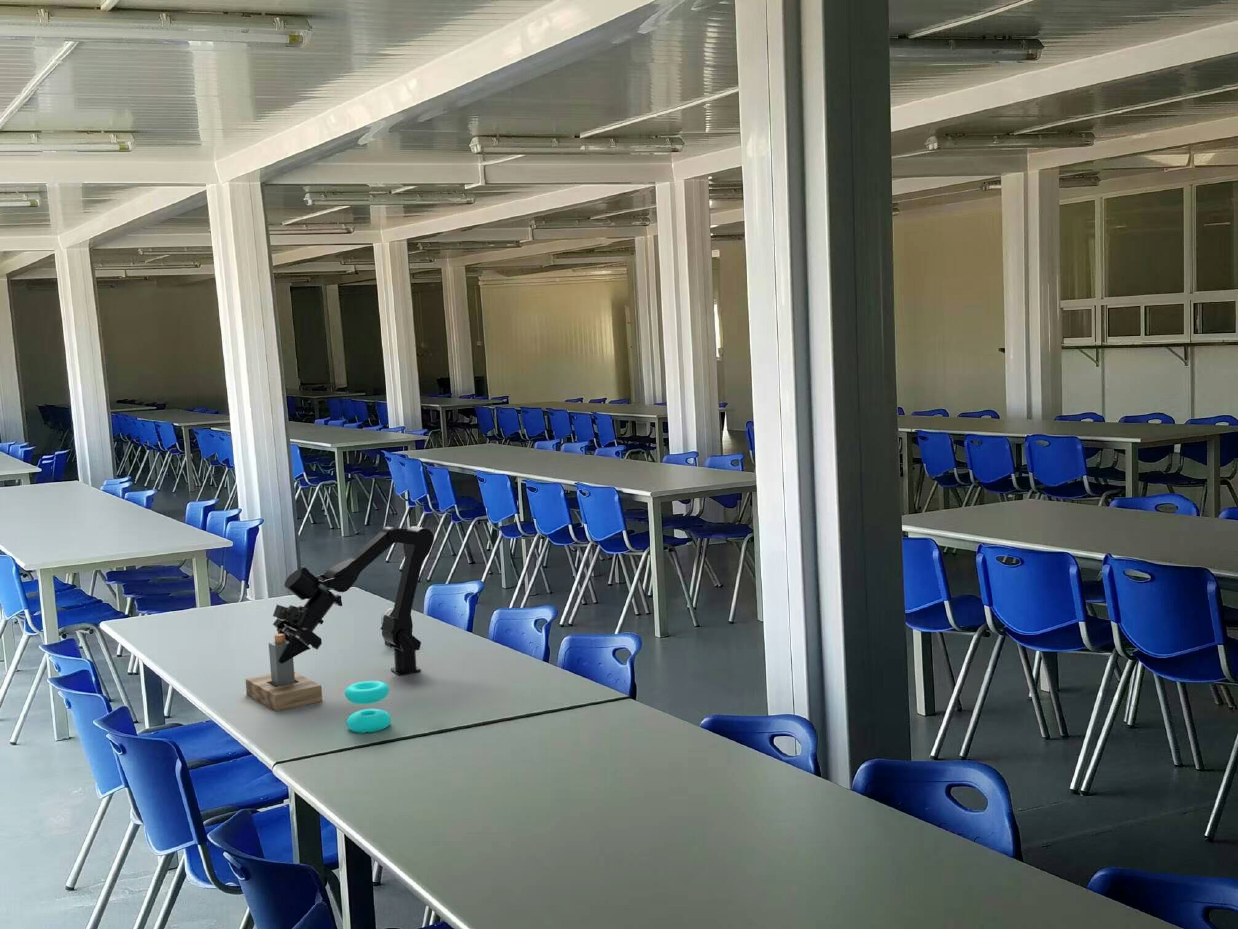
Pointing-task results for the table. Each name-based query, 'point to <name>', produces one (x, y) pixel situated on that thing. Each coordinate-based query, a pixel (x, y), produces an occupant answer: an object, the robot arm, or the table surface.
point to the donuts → (369, 717)
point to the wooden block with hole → (284, 692)
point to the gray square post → (284, 671)
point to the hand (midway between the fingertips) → (276, 660)
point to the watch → (383, 616)
